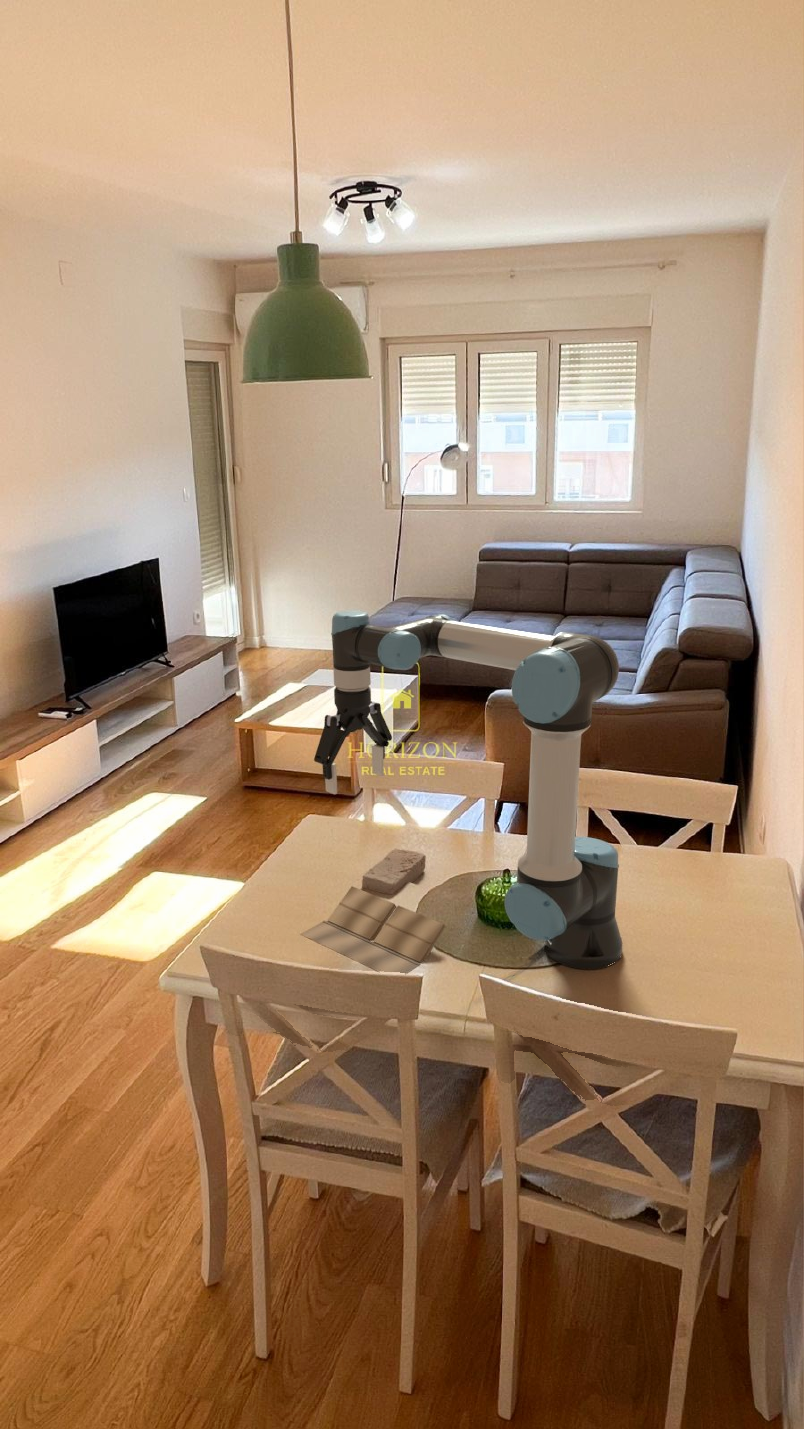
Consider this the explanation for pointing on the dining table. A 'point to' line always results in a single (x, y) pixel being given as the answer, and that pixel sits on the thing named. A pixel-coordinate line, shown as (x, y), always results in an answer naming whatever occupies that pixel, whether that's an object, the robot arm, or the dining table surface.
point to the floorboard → (359, 948)
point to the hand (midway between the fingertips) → (355, 783)
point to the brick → (394, 871)
